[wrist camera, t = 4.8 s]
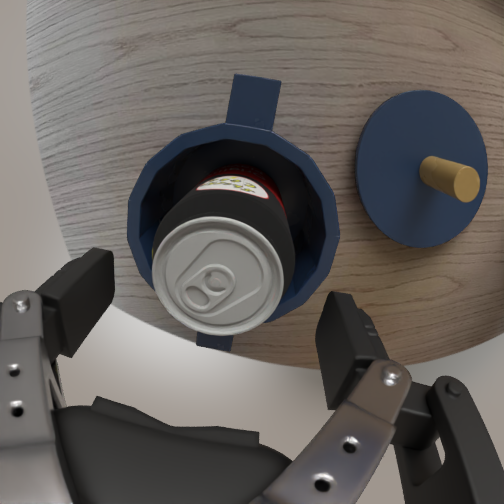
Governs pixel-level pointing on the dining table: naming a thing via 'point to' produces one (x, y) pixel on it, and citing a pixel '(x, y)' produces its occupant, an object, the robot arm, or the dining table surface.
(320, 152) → the dining table surface
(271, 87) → the pot
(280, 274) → the beverage can
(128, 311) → the dining table surface
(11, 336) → the robot arm
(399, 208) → the pot lid
